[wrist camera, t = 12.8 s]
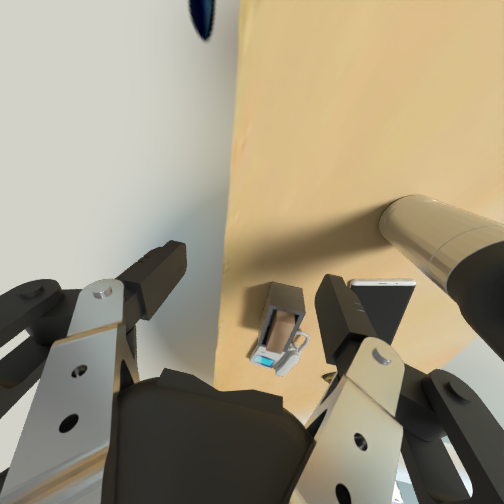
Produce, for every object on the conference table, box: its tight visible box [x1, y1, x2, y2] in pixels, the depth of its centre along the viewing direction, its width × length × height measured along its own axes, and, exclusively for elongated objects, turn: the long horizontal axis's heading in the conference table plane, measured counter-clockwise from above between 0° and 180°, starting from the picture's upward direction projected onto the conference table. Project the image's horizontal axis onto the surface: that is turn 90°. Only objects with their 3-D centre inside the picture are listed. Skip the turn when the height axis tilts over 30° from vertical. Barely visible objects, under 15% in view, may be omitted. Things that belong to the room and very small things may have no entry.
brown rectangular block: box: [266, 309, 295, 354], centre depth 44 cm, size 4×12×5 cm, turn 171°
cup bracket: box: [257, 282, 306, 352], centre depth 47 cm, size 8×16×8 cm, turn 171°
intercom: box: [250, 331, 310, 377], centre depth 58 cm, size 13×4×25 cm
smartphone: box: [349, 279, 416, 346], centre depth 48 cm, size 13×27×2 cm, turn 8°
